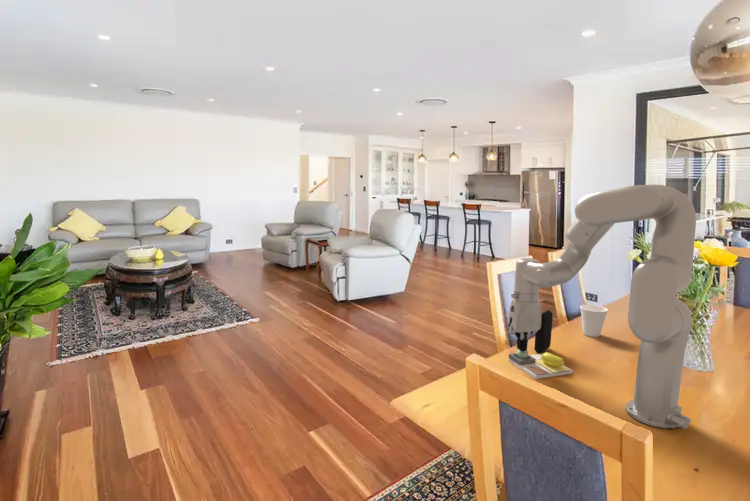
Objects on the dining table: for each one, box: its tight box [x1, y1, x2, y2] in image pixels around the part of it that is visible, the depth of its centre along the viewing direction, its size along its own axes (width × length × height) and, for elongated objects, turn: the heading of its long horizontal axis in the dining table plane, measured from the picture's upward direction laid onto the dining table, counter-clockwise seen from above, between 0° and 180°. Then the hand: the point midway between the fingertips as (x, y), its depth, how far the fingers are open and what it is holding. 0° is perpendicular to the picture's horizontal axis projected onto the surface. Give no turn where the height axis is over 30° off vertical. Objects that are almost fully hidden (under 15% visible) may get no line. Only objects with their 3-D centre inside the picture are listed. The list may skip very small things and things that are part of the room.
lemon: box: [541, 351, 565, 367], centre depth 139 cm, size 4×8×4 cm, turn 30°
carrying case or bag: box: [533, 309, 554, 354], centre depth 152 cm, size 11×3×15 cm, turn 137°
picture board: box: [508, 352, 574, 380], centre depth 141 cm, size 14×14×2 cm
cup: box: [579, 304, 609, 338], centre depth 170 cm, size 10×10×11 cm
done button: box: [516, 349, 529, 359], centre depth 143 cm, size 4×4×2 cm
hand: (521, 349), depth 143 cm, fingers closed
